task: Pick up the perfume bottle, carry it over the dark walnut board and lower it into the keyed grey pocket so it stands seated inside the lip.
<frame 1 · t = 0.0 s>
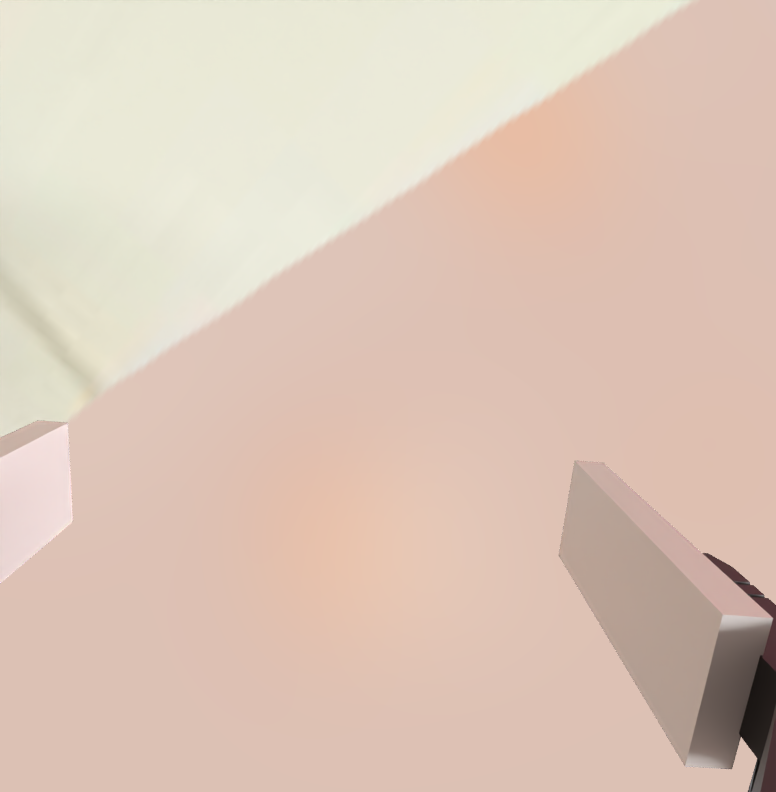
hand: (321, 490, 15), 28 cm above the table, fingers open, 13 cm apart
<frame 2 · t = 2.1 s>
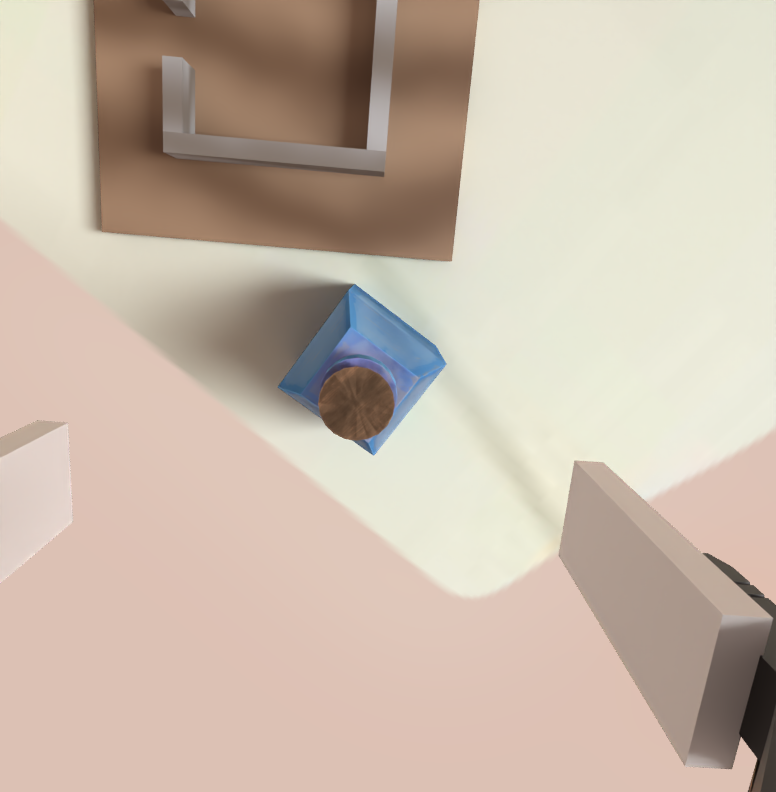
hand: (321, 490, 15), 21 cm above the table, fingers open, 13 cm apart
pocket board: (288, 59, 31), on the table
perfume bottle: (365, 354, 35), on the table
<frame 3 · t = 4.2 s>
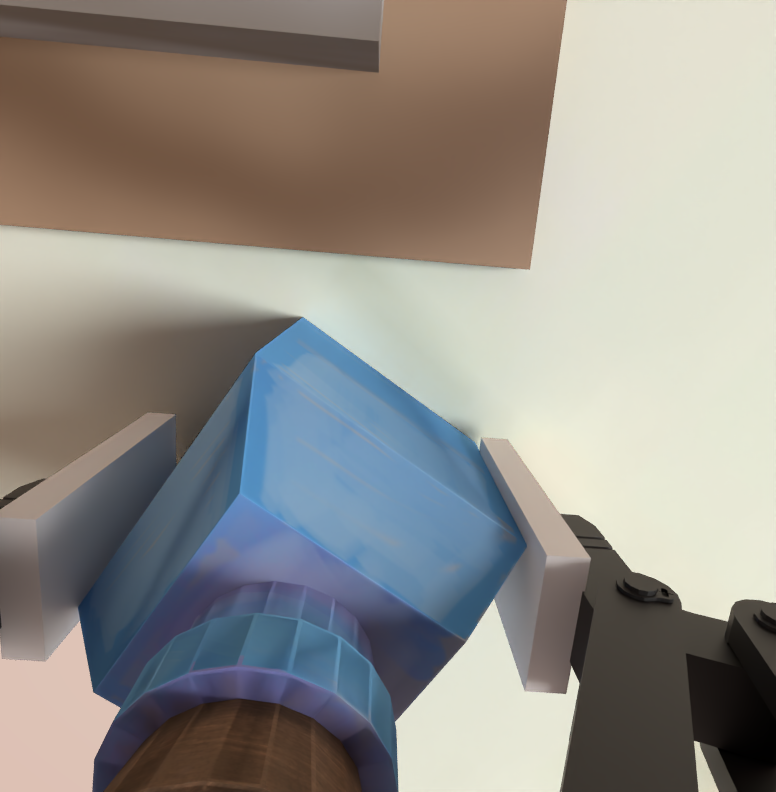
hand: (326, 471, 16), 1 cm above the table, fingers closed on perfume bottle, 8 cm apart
perfume bottle: (329, 460, 17), on the table, touching gripper
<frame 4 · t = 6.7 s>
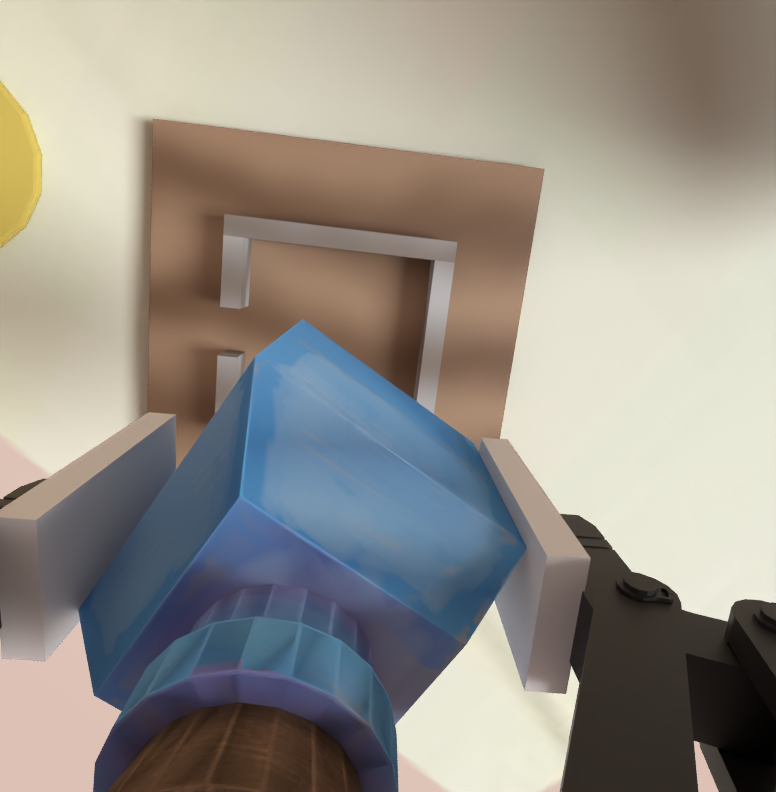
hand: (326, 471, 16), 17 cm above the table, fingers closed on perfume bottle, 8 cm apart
pocket board: (335, 336, 32), on the table
perfume bottle: (329, 462, 17), point 16 cm above the table, touching gripper
when the fingers open (4 cm above the table, at t = 9.1 s): perfume bottle drops 2 cm, resting on pocket board.
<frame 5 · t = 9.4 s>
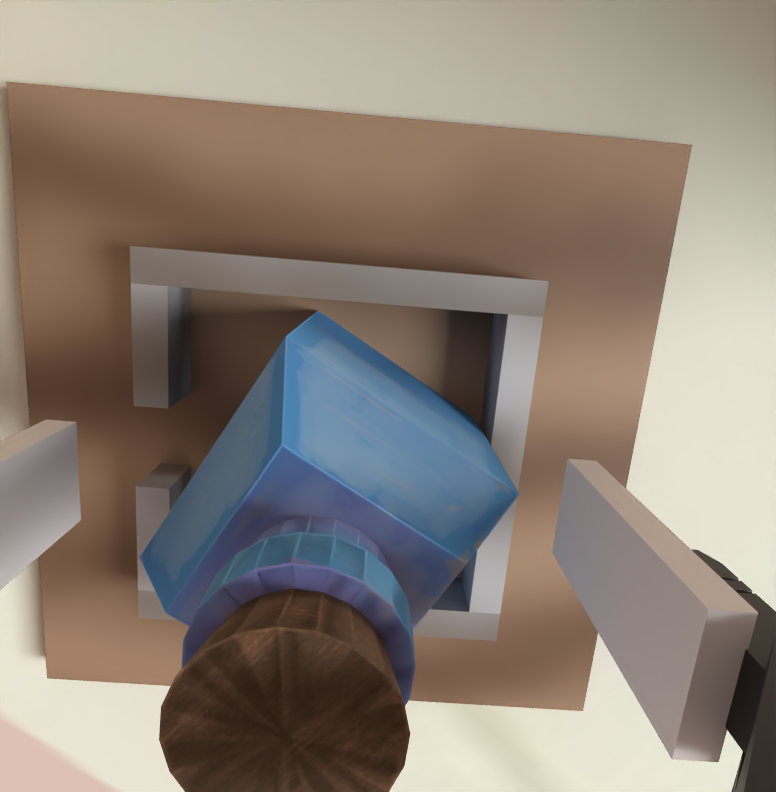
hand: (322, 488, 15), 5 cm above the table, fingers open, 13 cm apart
pocket board: (337, 431, 20), on the table
perfume bottle: (345, 439, 19), point 1 cm above the table, touching pocket board
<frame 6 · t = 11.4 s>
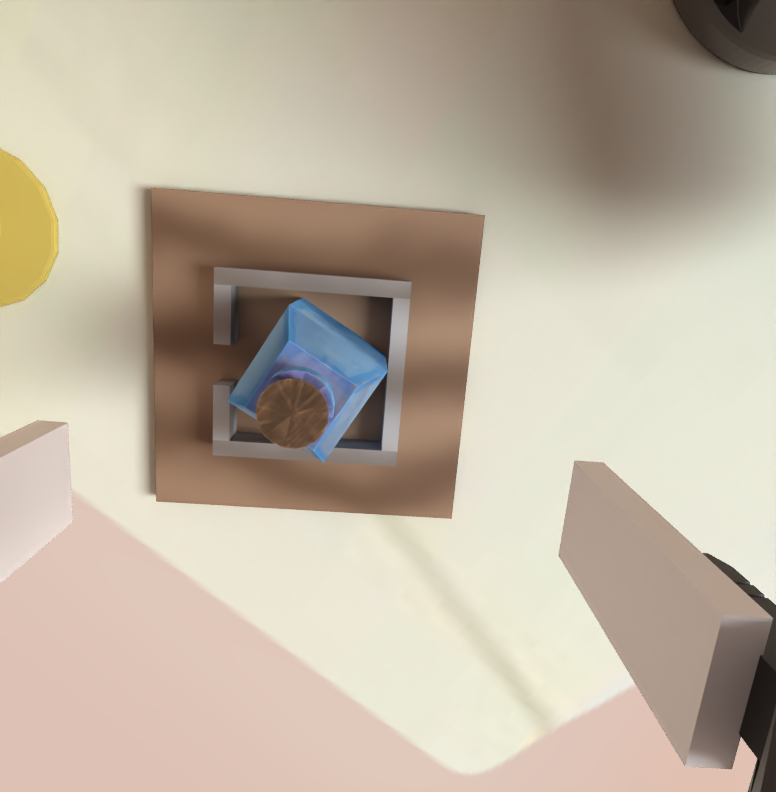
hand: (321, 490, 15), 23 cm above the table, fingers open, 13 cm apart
pocket board: (314, 362, 37), on the table
perfume bottle: (317, 365, 36), point 1 cm above the table, touching pocket board
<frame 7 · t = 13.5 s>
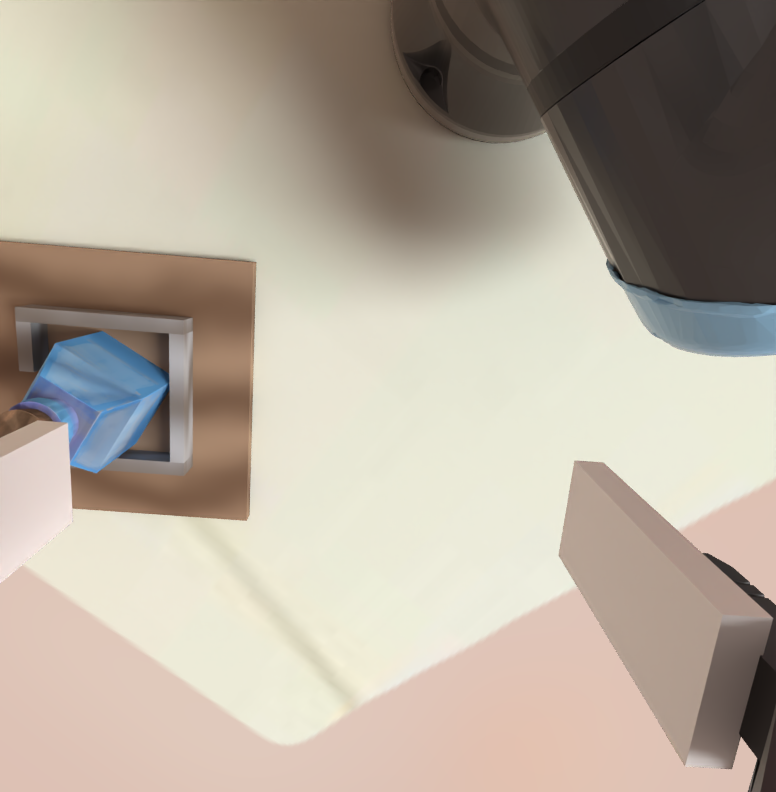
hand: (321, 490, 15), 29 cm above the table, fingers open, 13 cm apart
pocket board: (121, 385, 43), on the table
perfume bottle: (120, 388, 42), point 1 cm above the table, touching pocket board
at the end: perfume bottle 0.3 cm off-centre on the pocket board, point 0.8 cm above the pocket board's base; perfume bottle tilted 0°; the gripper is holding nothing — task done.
